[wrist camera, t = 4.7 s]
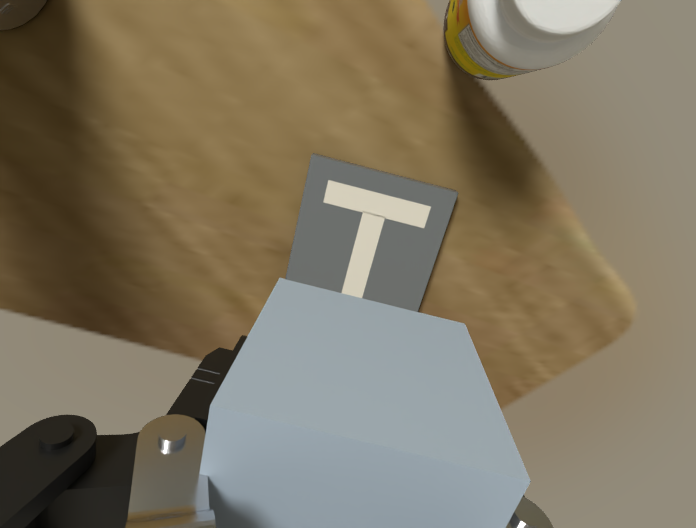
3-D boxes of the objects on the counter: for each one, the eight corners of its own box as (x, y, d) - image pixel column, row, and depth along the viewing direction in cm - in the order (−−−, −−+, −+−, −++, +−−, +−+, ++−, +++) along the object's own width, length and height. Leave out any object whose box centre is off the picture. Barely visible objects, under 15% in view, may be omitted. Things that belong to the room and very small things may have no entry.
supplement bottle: (502, -63, 22) (601, -201, 12) (568, 25, 23) (707, -38, 13) (419, 26, 23) (447, -35, 14) (484, 103, 24) (553, 99, 15)
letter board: (285, 284, 29) (283, 289, 28) (313, 153, 26) (311, 154, 25) (412, 317, 29) (413, 322, 28) (456, 190, 26) (458, 193, 25)
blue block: (249, 426, 14) (177, 612, 9) (279, 278, 12) (210, 405, 7) (409, 464, 14) (430, 667, 9) (464, 324, 12) (530, 480, 7)
